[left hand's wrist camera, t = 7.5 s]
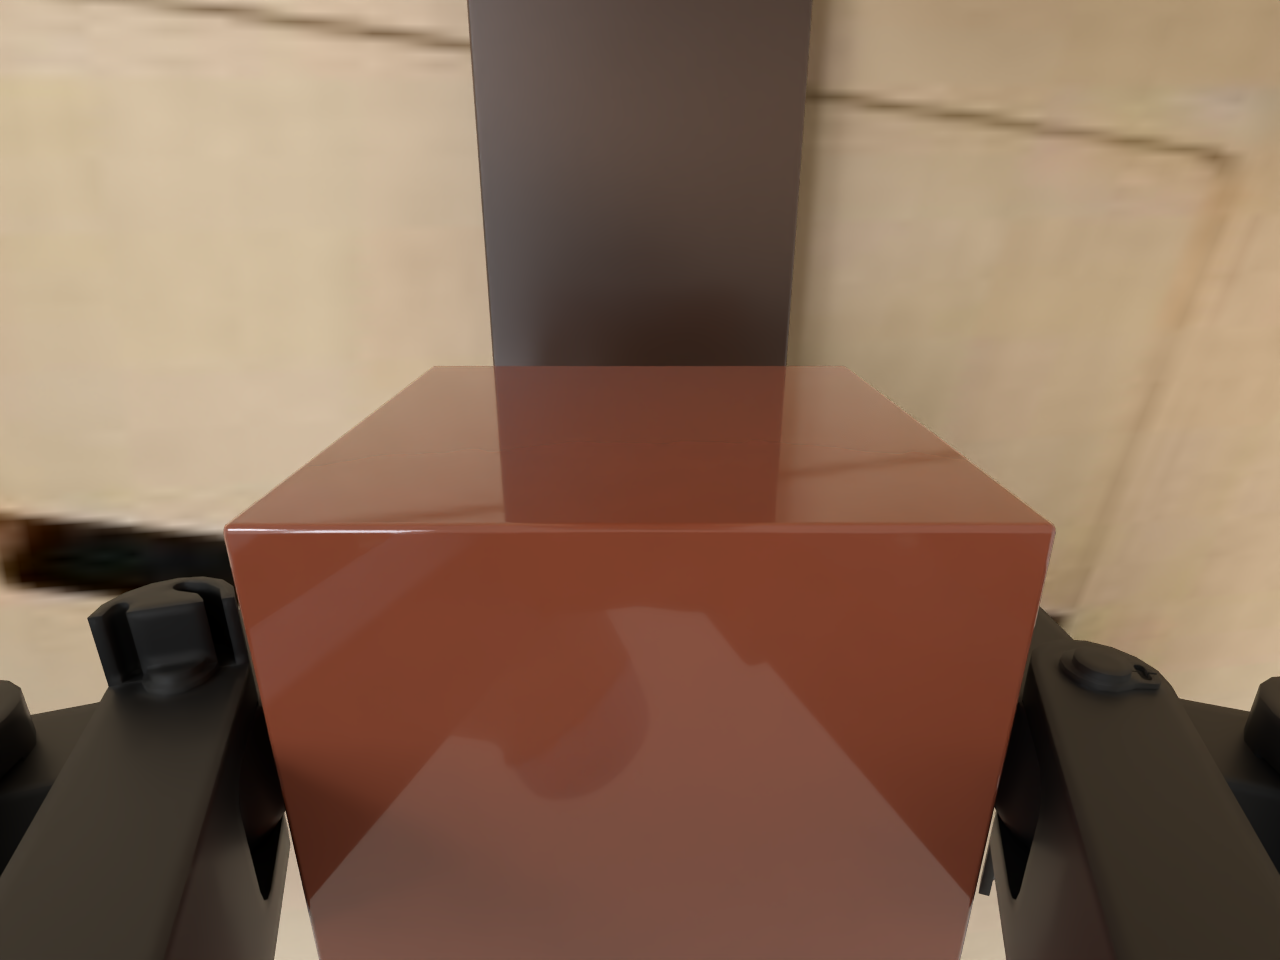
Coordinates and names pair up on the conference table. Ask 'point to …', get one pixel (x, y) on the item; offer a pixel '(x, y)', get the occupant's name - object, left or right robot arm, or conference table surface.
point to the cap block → (639, 667)
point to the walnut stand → (639, 177)
